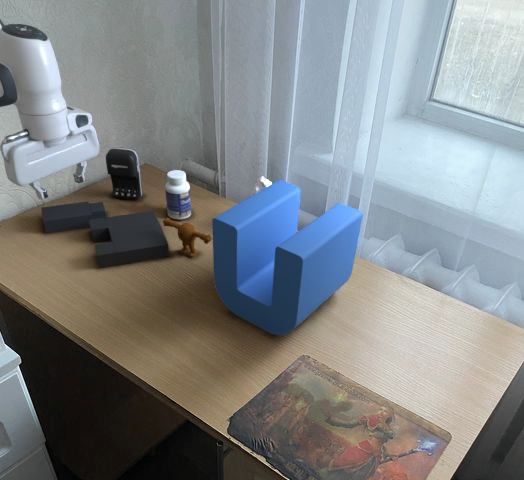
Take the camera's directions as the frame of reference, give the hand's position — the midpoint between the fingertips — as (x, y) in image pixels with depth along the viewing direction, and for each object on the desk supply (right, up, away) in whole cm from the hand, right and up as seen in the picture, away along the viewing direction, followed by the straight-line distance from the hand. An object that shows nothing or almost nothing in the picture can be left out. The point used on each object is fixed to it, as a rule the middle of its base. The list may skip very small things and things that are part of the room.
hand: (62, 189), depth 112 cm
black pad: (+14, -11, 0) cm, 18 cm away
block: (+46, -24, -11) cm, 53 cm away
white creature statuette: (+41, -7, +7) cm, 42 cm away
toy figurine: (+27, -14, -1) cm, 30 cm away
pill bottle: (+23, -3, +10) cm, 25 cm away
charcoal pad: (+1, -5, +6) cm, 8 cm away
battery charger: (+10, +2, +15) cm, 18 cm away
